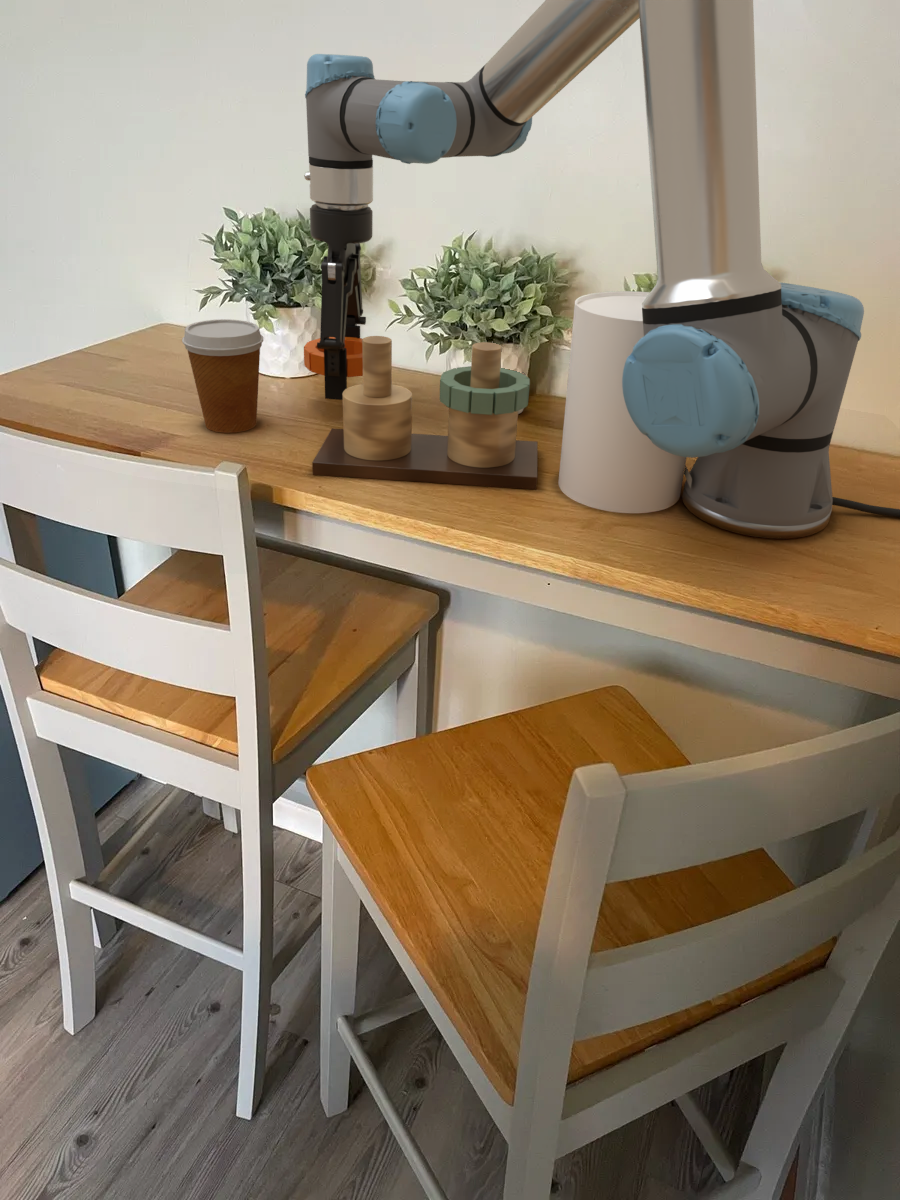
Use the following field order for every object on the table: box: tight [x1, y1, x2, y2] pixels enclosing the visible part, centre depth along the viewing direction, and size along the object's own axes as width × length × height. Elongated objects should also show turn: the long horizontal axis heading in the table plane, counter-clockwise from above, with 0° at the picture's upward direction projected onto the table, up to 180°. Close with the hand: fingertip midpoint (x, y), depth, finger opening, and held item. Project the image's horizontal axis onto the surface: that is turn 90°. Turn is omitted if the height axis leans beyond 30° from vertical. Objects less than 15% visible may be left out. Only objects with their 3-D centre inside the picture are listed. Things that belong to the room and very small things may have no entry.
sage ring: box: [439, 365, 531, 415], centre depth 99 cm, size 10×10×2 cm
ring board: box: [311, 335, 538, 491], centre depth 101 cm, size 25×11×14 cm, turn 85°
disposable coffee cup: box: [181, 318, 264, 434], centre depth 110 cm, size 10×10×12 cm
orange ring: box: [303, 337, 363, 378], centre depth 117 cm, size 10×10×2 cm
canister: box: [557, 290, 688, 514], centre depth 96 cm, size 14×14×20 cm
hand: (343, 385), depth 119 cm, fingers closed on orange ring, 10 cm apart
